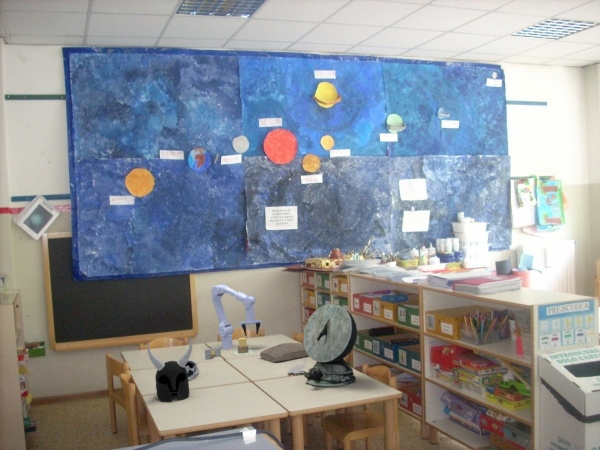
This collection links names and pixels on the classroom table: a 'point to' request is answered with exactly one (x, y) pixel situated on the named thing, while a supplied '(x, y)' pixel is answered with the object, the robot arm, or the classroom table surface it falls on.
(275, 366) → the classroom table surface
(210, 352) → the tile
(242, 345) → the brick
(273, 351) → the stone tablet
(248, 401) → the classroom table surface
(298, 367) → the figurine
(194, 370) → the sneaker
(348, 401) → the classroom table surface
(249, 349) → the build plate
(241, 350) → the base block
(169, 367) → the helmet
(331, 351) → the sundial
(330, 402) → the classroom table surface
